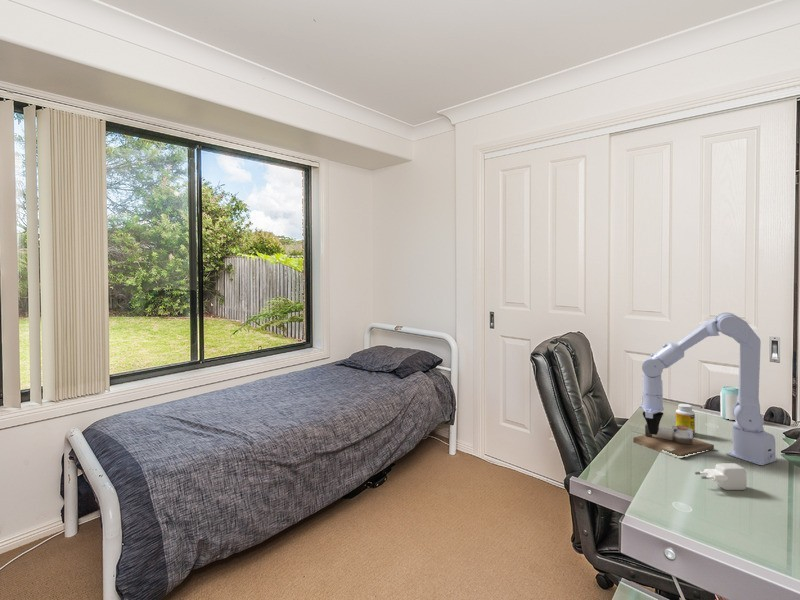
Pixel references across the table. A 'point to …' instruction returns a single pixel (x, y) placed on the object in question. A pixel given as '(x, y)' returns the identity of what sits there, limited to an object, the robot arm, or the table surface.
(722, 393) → the can
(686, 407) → the supplement bottle
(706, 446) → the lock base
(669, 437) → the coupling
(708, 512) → the table surface
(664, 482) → the table surface
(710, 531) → the table surface
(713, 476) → the power adapter
